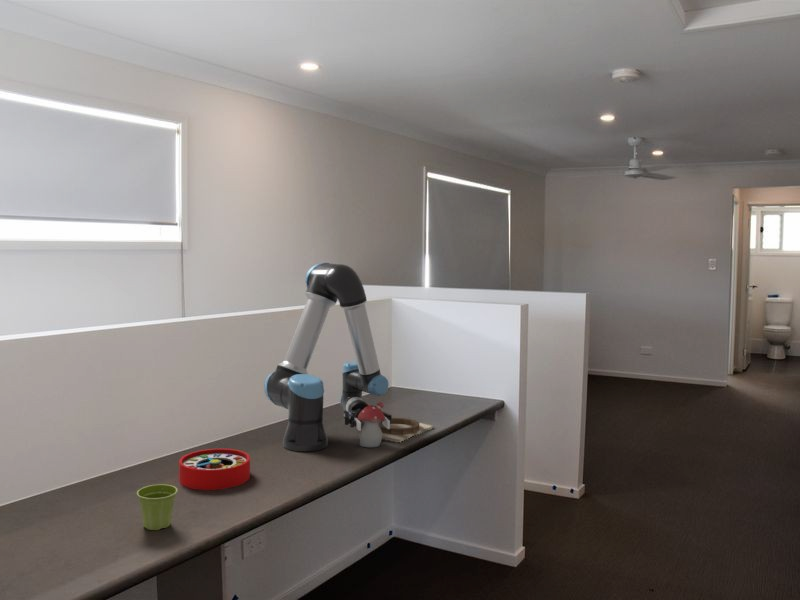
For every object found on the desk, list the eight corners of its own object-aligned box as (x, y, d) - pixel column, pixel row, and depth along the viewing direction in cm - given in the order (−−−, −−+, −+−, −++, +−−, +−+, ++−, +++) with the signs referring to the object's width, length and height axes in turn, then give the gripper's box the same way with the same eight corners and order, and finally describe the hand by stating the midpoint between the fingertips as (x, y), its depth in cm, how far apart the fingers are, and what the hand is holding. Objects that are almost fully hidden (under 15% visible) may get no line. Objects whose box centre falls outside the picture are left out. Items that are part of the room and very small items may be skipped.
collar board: (399, 442, 245) (399, 434, 244) (359, 434, 254) (360, 426, 253) (433, 428, 265) (433, 420, 265) (395, 420, 274) (395, 413, 274)
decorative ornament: (384, 443, 244) (385, 400, 242) (383, 448, 237) (384, 405, 236) (357, 442, 244) (358, 399, 243) (356, 447, 238) (357, 404, 236)
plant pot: (182, 518, 176) (182, 484, 175) (171, 534, 166) (171, 498, 166) (144, 517, 175) (144, 483, 175) (131, 533, 166) (131, 497, 165)
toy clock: (262, 461, 204) (197, 475, 191) (262, 481, 204) (197, 496, 191) (230, 444, 219) (167, 456, 206) (229, 463, 219) (167, 476, 206)
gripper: (386, 418, 261) (405, 434, 240) (328, 421, 254) (342, 438, 233) (387, 398, 260) (405, 413, 239) (328, 400, 254) (342, 416, 232)
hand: (374, 425), depth 236 cm, fingers closed on decorative ornament, 9 cm apart
